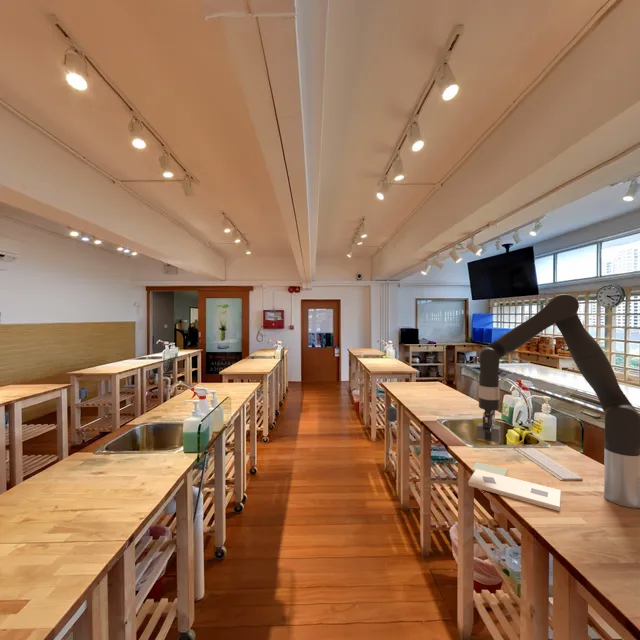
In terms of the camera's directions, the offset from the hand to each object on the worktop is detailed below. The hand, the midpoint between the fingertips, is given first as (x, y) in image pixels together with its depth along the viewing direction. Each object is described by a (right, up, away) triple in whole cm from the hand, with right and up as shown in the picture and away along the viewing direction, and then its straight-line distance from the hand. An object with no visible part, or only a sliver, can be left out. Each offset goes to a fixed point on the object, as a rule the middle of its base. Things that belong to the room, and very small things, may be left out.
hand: (489, 438), depth 135 cm
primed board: (+2, -14, -13) cm, 19 cm away
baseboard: (+28, -15, +9) cm, 33 cm away
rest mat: (+2, -14, +3) cm, 15 cm away
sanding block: (0, 0, 0) cm, 1 cm away
